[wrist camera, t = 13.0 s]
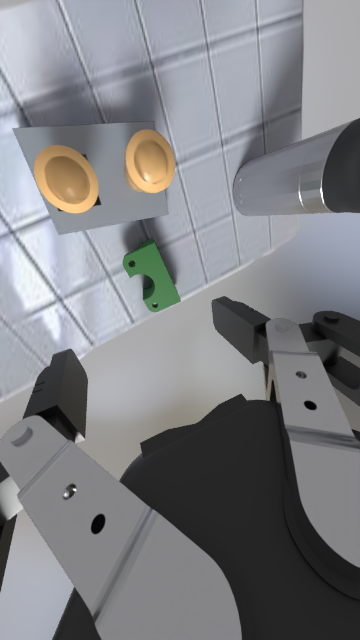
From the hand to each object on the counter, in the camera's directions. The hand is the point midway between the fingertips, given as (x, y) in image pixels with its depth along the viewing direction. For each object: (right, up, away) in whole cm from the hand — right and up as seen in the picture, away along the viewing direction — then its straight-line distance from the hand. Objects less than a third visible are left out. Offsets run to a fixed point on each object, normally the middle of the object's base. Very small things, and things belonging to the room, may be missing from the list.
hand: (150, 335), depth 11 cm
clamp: (-4, +10, +26) cm, 29 cm away
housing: (-9, +21, +18) cm, 29 cm away
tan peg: (-13, +19, +17) cm, 29 cm away
